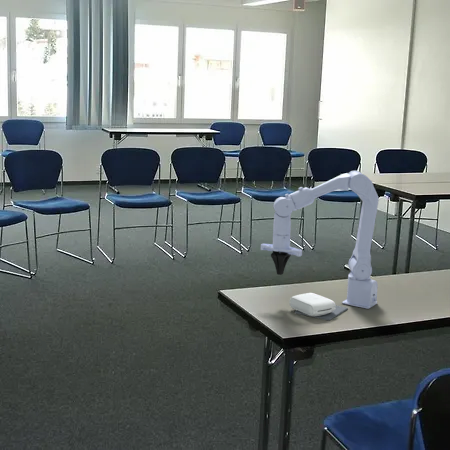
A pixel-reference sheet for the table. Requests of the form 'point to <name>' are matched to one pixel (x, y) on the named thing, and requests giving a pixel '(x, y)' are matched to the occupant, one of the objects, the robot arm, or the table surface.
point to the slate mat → (330, 315)
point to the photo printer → (312, 304)
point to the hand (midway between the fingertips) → (280, 274)
